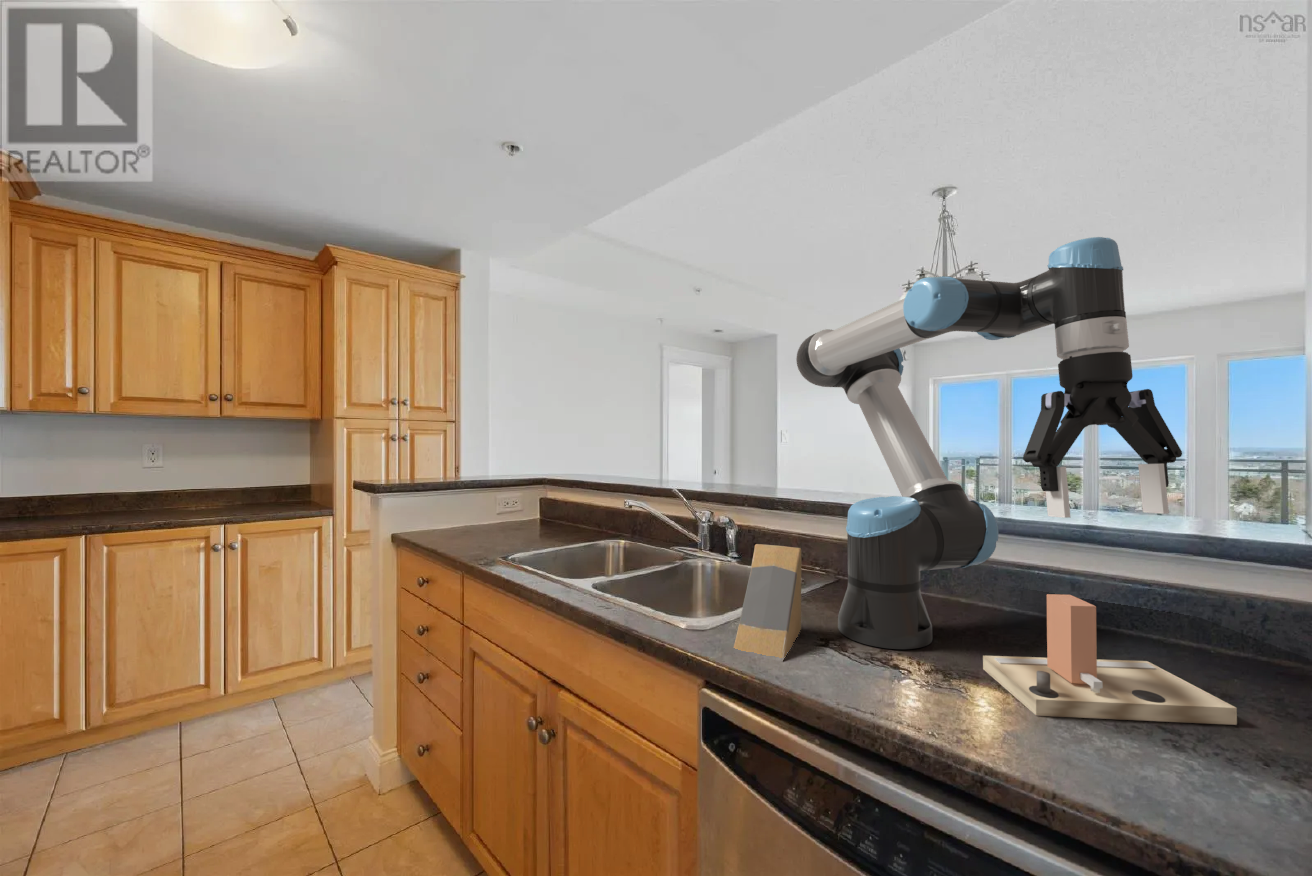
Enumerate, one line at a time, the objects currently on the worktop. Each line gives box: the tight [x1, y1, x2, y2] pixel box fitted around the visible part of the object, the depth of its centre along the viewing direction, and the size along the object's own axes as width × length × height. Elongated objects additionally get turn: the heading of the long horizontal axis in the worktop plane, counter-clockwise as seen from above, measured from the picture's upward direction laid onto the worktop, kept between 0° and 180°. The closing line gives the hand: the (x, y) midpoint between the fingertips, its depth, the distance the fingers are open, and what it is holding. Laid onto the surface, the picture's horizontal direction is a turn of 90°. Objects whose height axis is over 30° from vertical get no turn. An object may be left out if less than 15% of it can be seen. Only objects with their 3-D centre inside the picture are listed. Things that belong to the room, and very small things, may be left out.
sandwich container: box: [733, 543, 802, 658], centre depth 89 cm, size 9×15×15 cm, turn 154°
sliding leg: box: [1046, 593, 1103, 693], centre depth 69 cm, size 3×8×10 cm, turn 173°
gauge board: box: [982, 655, 1238, 726], centre depth 70 cm, size 22×13×4 cm, turn 83°
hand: (1107, 515), depth 69 cm, fingers open, 13 cm apart
